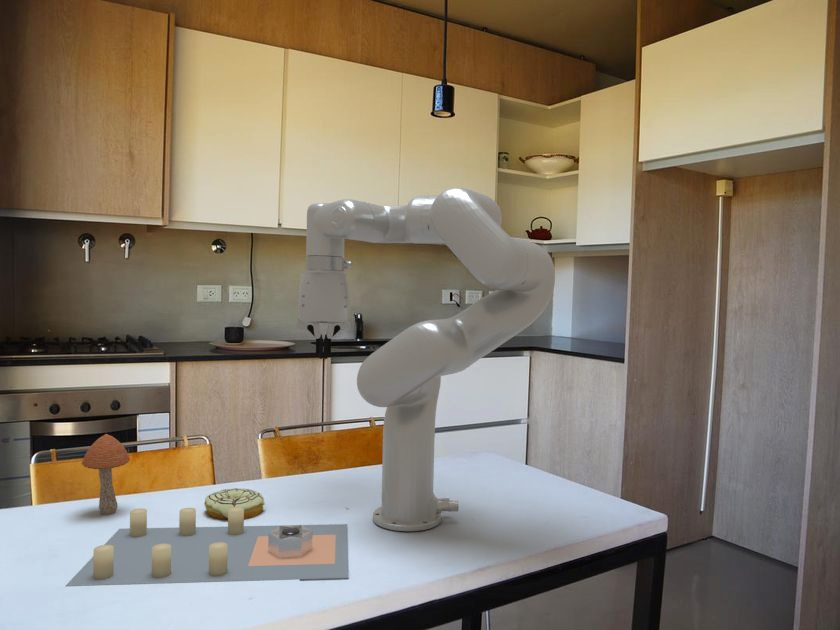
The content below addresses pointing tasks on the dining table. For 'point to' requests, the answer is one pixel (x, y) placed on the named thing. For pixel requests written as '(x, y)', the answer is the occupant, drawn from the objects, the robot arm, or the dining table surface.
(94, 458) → the mushroom
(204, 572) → the spacer board
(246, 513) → the decorated donut
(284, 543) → the hex nut
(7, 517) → the dining table surface
